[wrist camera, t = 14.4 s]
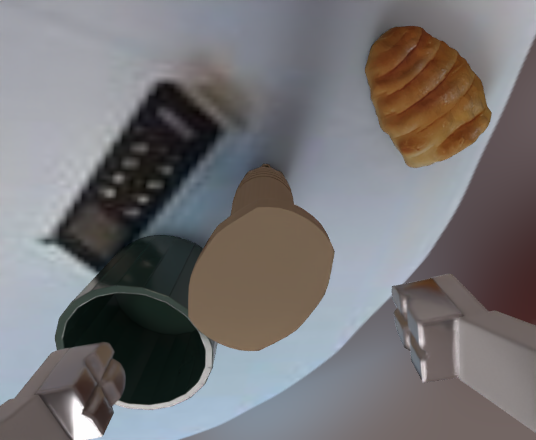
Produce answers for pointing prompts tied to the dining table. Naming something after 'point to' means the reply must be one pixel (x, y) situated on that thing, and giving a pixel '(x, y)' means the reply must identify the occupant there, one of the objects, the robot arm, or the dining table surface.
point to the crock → (145, 322)
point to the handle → (260, 267)
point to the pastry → (425, 95)
